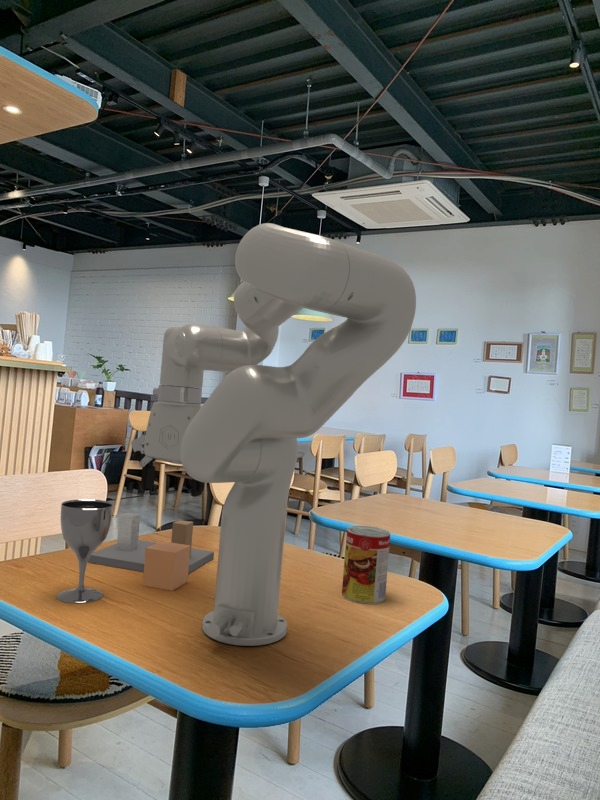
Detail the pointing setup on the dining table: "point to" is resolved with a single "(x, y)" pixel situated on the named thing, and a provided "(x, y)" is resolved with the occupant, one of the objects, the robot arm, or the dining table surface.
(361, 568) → the canned food
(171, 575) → the tan cardboard box
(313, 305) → the robot arm
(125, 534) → the steel post
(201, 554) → the post stand
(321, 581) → the dining table surface
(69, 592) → the wine glass
